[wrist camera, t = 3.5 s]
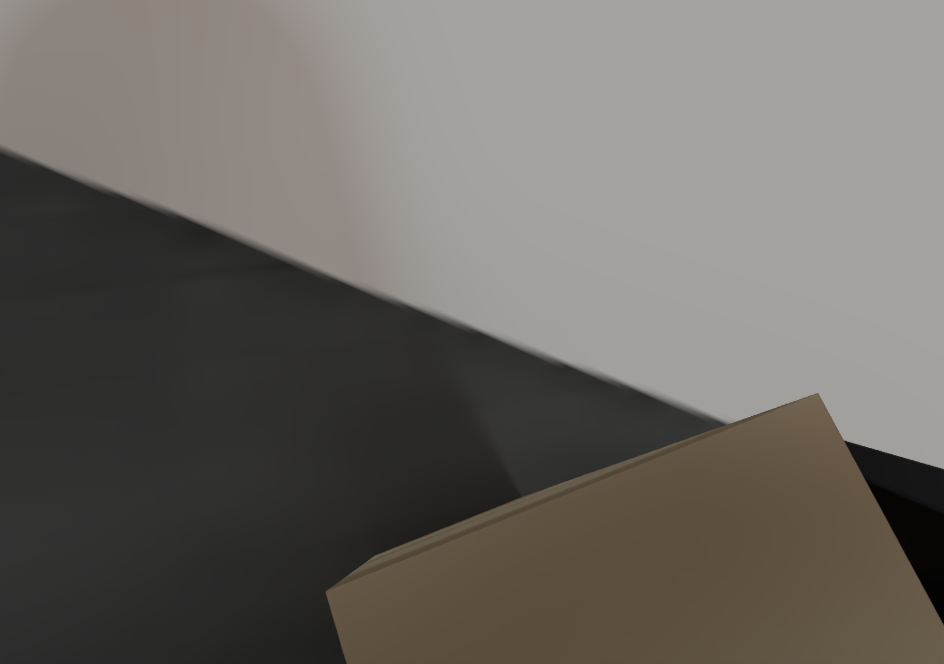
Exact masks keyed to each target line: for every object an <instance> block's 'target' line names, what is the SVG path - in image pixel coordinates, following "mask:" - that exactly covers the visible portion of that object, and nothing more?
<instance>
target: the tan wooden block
mask: <svg viewBox="0 0 944 664" xmlns="http://www.w3.org/2000/svg"><path fill="white" fill-rule="evenodd" d="M326 595H327V598H328V602H329V605H330V609H331V612H332V615H333V619H334V622H335V626H336V629H337V633H338V636H339V639H340V643H341V646H342V650H343V653H344V657H345V660H346V663H347V664H944V625H943V623H942V621H941V619H940V617H939V616H938V614H937V612H936V610H935V608H934V606H933V605H932V603H931V601H930V599H929V597H928V595H927V593H926V592H925V590H924V588H923V586H922V584H921V582H920V581H919V579H918V577H917V575H916V573H915V571H914V569H913V568H912V566H911V564H910V562H909V560H908V558H907V557H906V555H905V553H904V551H903V549H902V547H901V545H900V544H899V542H898V540H897V538H896V536H895V534H894V533H893V531H892V529H891V527H890V525H889V523H888V521H887V520H886V518H885V516H884V514H883V512H882V510H881V508H880V507H879V505H878V503H877V501H876V499H875V497H874V496H873V494H872V492H871V490H870V488H869V486H868V484H867V483H866V481H865V479H864V477H863V475H862V473H861V472H860V470H859V468H858V466H857V464H856V462H855V460H854V459H853V457H852V455H851V453H850V451H849V449H848V448H847V446H846V444H845V442H844V440H843V438H842V436H841V435H840V433H839V431H838V429H837V427H836V426H835V423H834V422H833V420H832V418H831V416H830V414H829V413H828V411H827V409H826V407H825V405H824V403H823V402H822V400H821V398H820V396H819V394H818V393H817V394H814V395H811V396H808V397H805V398H802V399H800V400H797V401H794V402H791V403H789V404H785V405H782V406H780V407H777V408H774V409H771V410H768V411H765V412H763V413H760V414H757V415H754V416H751V417H748V418H745V419H743V420H740V421H737V422H734V423H731V424H728V425H726V426H723V427H720V428H717V429H714V430H711V431H709V432H706V433H703V434H700V435H697V436H694V437H691V438H689V439H686V440H683V441H680V442H677V443H674V444H672V445H669V446H666V447H663V448H660V449H657V450H655V451H652V452H649V453H646V454H643V455H640V456H637V457H635V458H632V459H629V460H626V461H623V462H620V463H618V464H615V465H612V466H609V467H606V468H603V469H601V470H598V471H595V472H592V473H589V474H586V475H583V476H581V477H578V478H575V479H572V480H569V481H566V482H564V483H561V484H558V485H555V486H552V487H549V488H547V489H544V490H541V491H538V492H535V493H532V494H529V495H527V496H524V497H521V498H519V499H516V500H514V501H511V502H509V503H506V504H503V505H501V506H498V507H496V508H493V509H491V510H488V511H486V512H483V513H481V514H478V515H476V516H473V517H471V518H468V519H466V520H463V521H461V522H458V523H456V524H453V525H451V526H448V527H446V528H443V529H441V530H438V531H436V532H433V533H431V534H428V535H425V536H423V537H420V538H418V539H415V540H413V541H410V542H408V543H405V544H403V545H400V546H398V547H395V548H393V549H390V550H388V551H385V552H383V553H380V554H378V555H375V556H374V557H372V558H371V559H370V560H368V561H367V562H366V563H364V564H363V565H362V566H360V567H359V568H357V569H356V570H355V571H353V572H352V573H351V574H349V575H348V576H346V577H345V578H344V579H342V580H341V581H340V582H338V583H337V584H335V585H334V586H333V587H331V588H330V589H329V590H327V591H326Z"/></svg>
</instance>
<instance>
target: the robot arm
mask: <svg viewBox="0 0 944 664" xmlns="http://www.w3.org/2000/svg"><path fill="white" fill-rule="evenodd" d="M844 442H845V444H846V446H847V448H848V449H849V451H850V453H851V455H852V457H853V459H854V460H855V462H856V464H857V466H858V468H859V470H860V472H861V473H862V475H863V477H864V479H865V481H866V483H867V484H868V486H869V488H870V490H871V492H872V494H873V496H874V497H875V499H876V501H877V503H878V505H879V507H880V508H881V510H882V512H883V514H884V516H885V518H886V520H887V521H888V523H889V525H890V527H891V529H892V531H893V533H894V534H895V536H896V538H897V540H898V542H899V544H900V545H901V547H902V549H903V551H904V553H905V555H906V557H907V558H908V560H909V562H910V564H911V566H912V568H913V569H914V571H915V573H916V575H917V577H918V579H919V581H920V582H921V584H922V586H923V588H924V590H925V592H926V593H927V595H928V597H929V599H930V601H931V603H932V605H933V606H934V608H935V610H936V612H937V614H938V616H939V617H940V619H941V621H942V623H943V625H944V469H941V468H938V467H934V466H931V465H927V464H924V463H920V462H917V461H913V460H910V459H906V458H903V457H899V456H896V455H893V454H889V453H885V452H882V451H879V450H875V449H872V448H868V447H865V446H861V445H858V444H854V443H851V442H847V441H844Z"/></svg>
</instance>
